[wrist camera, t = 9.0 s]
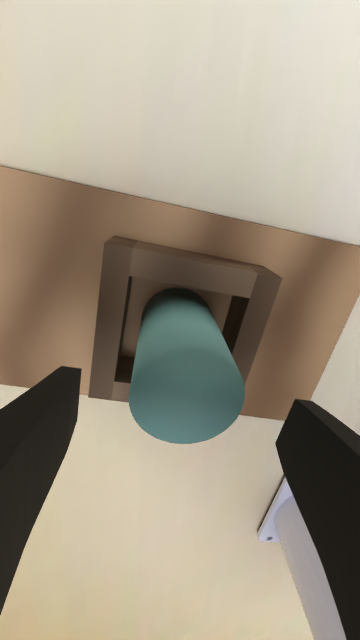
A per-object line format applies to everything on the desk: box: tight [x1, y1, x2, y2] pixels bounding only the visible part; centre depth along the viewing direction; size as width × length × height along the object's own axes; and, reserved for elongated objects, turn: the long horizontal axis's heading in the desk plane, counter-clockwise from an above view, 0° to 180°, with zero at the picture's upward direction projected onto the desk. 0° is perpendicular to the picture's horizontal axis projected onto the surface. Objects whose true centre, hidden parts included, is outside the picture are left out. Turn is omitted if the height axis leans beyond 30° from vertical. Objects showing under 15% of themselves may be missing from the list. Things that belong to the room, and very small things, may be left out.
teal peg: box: [129, 288, 245, 444], centre depth 13 cm, size 4×4×7 cm
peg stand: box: [0, 166, 360, 421], centre depth 15 cm, size 20×12×3 cm, turn 78°
